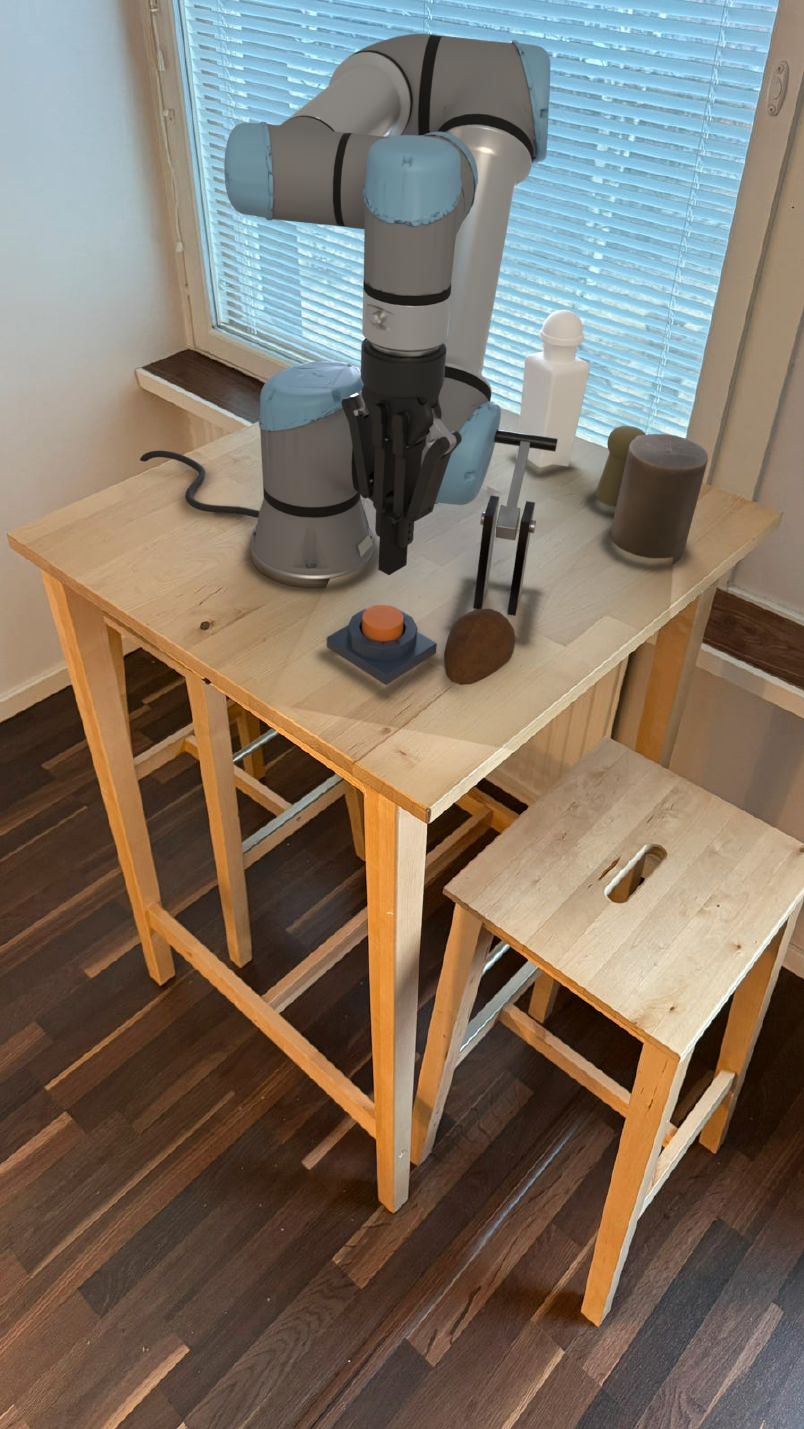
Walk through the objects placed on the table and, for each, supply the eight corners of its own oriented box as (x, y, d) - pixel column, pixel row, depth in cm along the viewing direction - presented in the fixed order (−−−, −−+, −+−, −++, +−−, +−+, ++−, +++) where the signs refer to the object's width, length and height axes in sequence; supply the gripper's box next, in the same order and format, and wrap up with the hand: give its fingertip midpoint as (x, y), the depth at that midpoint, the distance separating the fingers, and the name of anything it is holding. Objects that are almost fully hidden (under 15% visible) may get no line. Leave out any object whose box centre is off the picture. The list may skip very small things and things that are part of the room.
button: (353, 629, 110) (353, 616, 109) (381, 612, 113) (382, 599, 112) (383, 647, 108) (383, 634, 107) (411, 630, 111) (412, 617, 109)
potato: (423, 681, 111) (428, 629, 106) (469, 633, 118) (475, 582, 113) (481, 705, 108) (488, 653, 104) (524, 654, 115) (532, 603, 110)
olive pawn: (634, 495, 143) (651, 422, 136) (637, 518, 139) (655, 443, 132) (591, 491, 144) (605, 418, 136) (593, 513, 139) (608, 438, 132)
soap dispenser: (546, 449, 153) (569, 299, 138) (573, 468, 148) (600, 315, 134) (510, 458, 150) (530, 306, 135) (537, 478, 146) (561, 323, 131)
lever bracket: (470, 582, 125) (481, 481, 116) (534, 593, 124) (551, 492, 115) (454, 629, 118) (465, 525, 109) (523, 641, 117) (540, 537, 108)
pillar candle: (657, 576, 128) (685, 468, 118) (593, 545, 133) (615, 439, 123) (697, 547, 134) (727, 442, 124) (634, 519, 139) (658, 415, 129)
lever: (496, 437, 119) (497, 424, 116) (556, 446, 118) (558, 433, 115) (474, 534, 114) (474, 522, 112) (536, 544, 113) (537, 533, 111)
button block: (326, 656, 113) (326, 623, 110) (376, 626, 118) (378, 594, 115) (385, 695, 109) (387, 662, 106) (435, 662, 113) (438, 629, 110)
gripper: (320, 329, 91) (321, 556, 106) (434, 375, 84) (417, 608, 100) (377, 309, 95) (369, 529, 111) (489, 351, 89) (464, 578, 104)
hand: (392, 567), depth 105 cm, fingers closed
